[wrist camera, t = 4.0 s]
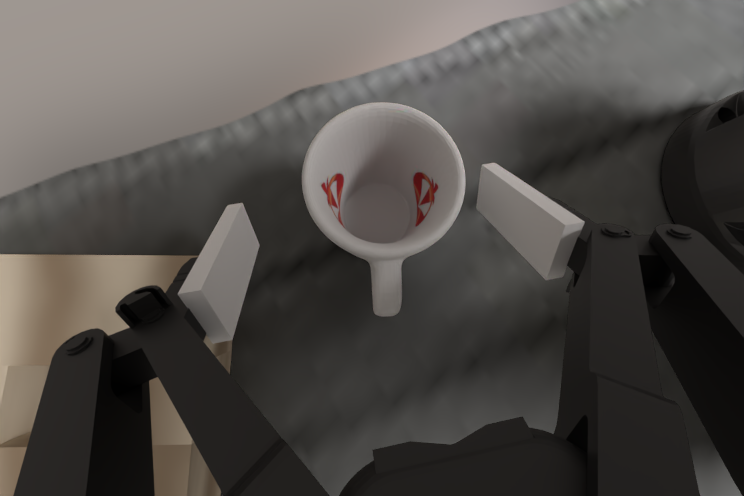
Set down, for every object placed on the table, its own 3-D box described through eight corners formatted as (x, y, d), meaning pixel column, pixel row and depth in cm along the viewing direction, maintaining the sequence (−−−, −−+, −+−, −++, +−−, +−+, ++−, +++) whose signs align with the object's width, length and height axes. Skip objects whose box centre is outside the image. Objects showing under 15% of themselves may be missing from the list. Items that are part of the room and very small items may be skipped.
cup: (435, 308, 21) (481, 318, 13) (324, 313, 20) (300, 326, 12) (425, 167, 22) (459, 97, 14) (322, 170, 22) (299, 100, 14)
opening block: (238, 263, 21) (209, 255, 17) (219, 515, 18) (178, 577, 14) (6, 261, 20) (-82, 253, 16) (-48, 522, 17) (-168, 589, 13)
